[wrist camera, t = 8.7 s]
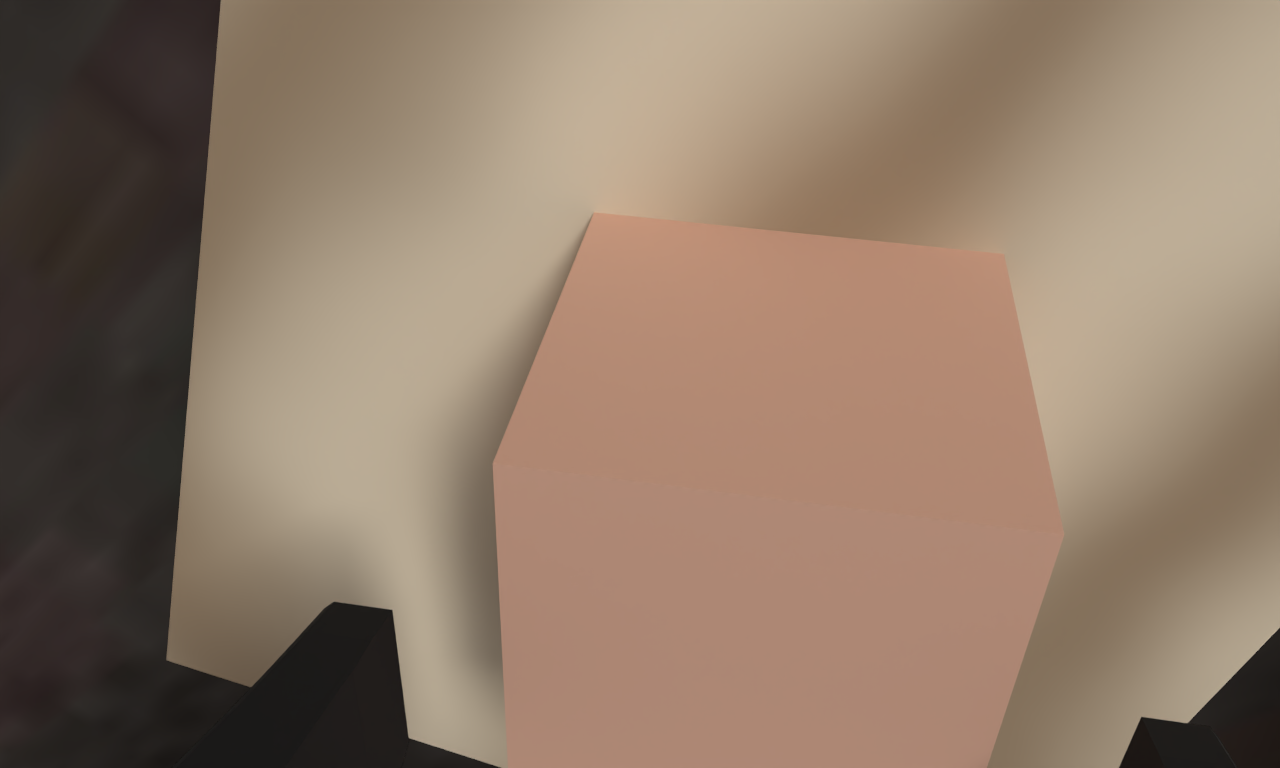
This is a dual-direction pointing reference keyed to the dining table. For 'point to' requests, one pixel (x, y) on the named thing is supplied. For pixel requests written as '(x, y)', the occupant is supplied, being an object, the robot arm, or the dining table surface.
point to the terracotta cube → (770, 506)
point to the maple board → (741, 197)
